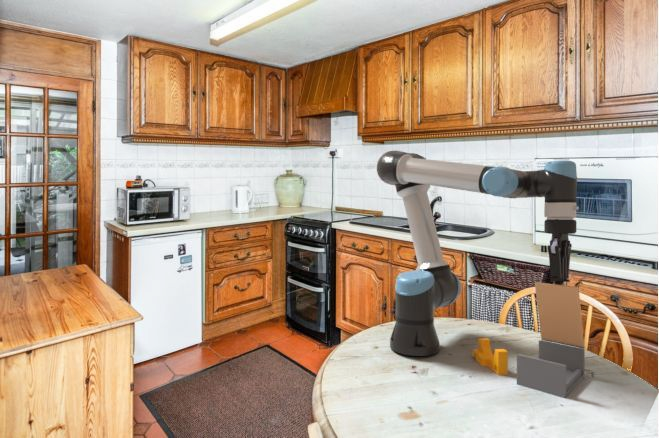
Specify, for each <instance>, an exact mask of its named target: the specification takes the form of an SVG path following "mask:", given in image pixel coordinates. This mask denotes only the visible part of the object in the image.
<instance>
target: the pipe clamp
mask: <svg viewBox="0 0 659 438" xmlns="http://www.w3.org/2000/svg"><path fill="white" fill-rule="evenodd" d="M477 339H478V344H477V345H478V346H477V347H478V348H473V349H472V357H473V358H475V360H476V362H478V363H479V364H480V365H481V367H489V369H490V370H492V371H493V372H494V373H495V374H496V375H498V376H503V375H505V376H508V372H509V371H508V369H509V368H508V367H509V366H508V365H509V364H508V363H509V362H508V357H509V356H508V352H509V351H508V350H506V349H504V348H495V349H494V353H493V350H492V347H491V340H490V338H488V337H478V338H477Z"/></svg>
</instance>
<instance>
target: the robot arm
mask: <svg viewBox="0 0 659 438" xmlns="http://www.w3.org/2000/svg"><path fill="white" fill-rule="evenodd" d="M376 174H377V176H378V178H379V179H380V180H381V181H382V182H384V183H385V184H387V185H390V186H394V187H395V190H396V193H397V195H398V196H399V197H401V198H402V202H403V205H404V210H405V214H406V218H407V223H408V227H409V231H410V235H411V239H412V240H411V241H412V243H413V249H414V252H415V256H416V260H417V261H416V262H417V267H416V268H415V270H410V271H404V272H400V273H399V274H398V275H397V276H396V279H395V287H394V289H395V291H394V292H395V323H394V326H393V329H392V332H391V335H390V339H389V347H390V349H391V350H392V351H393V352H395V353H397V354H398V353H399V354H402V355H406V356H413V357H414V356H417V357H424V356H433V355H436V354H437V353H439V352H440V349H441V348H440V345H441V343H440V340H439V336H438V334H437V331H436V328H435V323H434V322H435V320H434V319H435V311H434V310H437V309H440V308H445V307H448V306H450V305H452V304H453V303H455V302H456V301H457V300H458V298H459V297H460V295H461V291H462V290H461V289H462V285H461V281H460V278H459V277H458V276H457V274H455V273H454V272H453V271H452V268H451V265H450V263H449V262H447V261H446V260H445V259H444V256H443V252H442V248H441V245H440V240H439V235H438V231H437V227H436V224H435V219H434V215H433V212H432V208H431V202H430V198H429V195H428V191H429V189H431V186H433V187H441V188H446V189H453V190H459V191H460V190H461V191H466V192H472V193H479V194H485V195H491V196H494V197H498V198H499V197H500V198H504V199H521V198H522V199H523V198H525V199H527V198H544V211H543V212H544V213H543V214H544V218H546V219H545V220H544V233H545V234H551V239H550V240H549V245H547V252H548V260H549V263H548V264H549V272H550V278H549V282H553V283H552V284H557V285H566V286H567V283H570V281H571V279H569V277H570V263H571V261H570V260H571V251H572V247H573V245H572V243H571V241H570V239H569V235H571V234H572V235H574V234H576V233H577V220H576V219H575V218H576V217H577V211H579V209H580V207H579V206H578V205H577V194H578V193H577V192H578V191H577V189H578V188H577V187H578V185H577V184H578V174H577V164H576V162H574V161H572V160H553V161H548V162H545V164H544V168H543V169H540V170H526V171H525V170H519V169H513V168H509V167H506V166H489V165H482V164H472V163H463V162H456V161H455V162H453V161H445V160H444V161H443V160H435V159H427V157H424V156H422V155H420V154H418V153H414V152H411V153H410V152H405V151H400V150H389V151H386V152H384V153H383V154H382V155H381V156H380V157H379V158H378V160H377V163H376Z"/></svg>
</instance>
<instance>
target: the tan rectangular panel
mask: <svg viewBox="0 0 659 438" xmlns="http://www.w3.org/2000/svg"><path fill="white" fill-rule="evenodd" d="M534 288H535V289H534V290H535V297H536V304H537V305H536V306H537V312H538V313H537V314H538V321H539V329H540V337H541V339H540V340H542V341H547V342H552V343H557V344H562V345H567V346H572V347H576V348H581V349H585V341H584V329H583V320H582V319H583V318H582V309H581V297H580V288H579V286H576V285H575V286H574V285H567V284H566V285H557V284H553V283H546V282H538V281H537V282H536V281H535V282H534Z"/></svg>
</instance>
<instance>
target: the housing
mask: <svg viewBox="0 0 659 438" xmlns="http://www.w3.org/2000/svg"><path fill="white" fill-rule="evenodd" d="M585 355H586V351H585V348H579V347H574V346H569V345H564V344H559V343H554V342H549V341H544V340H541V339H539V340H538V358H537V357H533V356H530V355H525V354H521V353H518V354H516V385H519V386H521V387H525V388H529V389H533V390H535V391H539V392H544V393H547V394H551V395H554V396H557V397H561V398H567V397H568V395H569V394H570V393H572V391H573V390H574V389H575V388H576V387H577V386H578V385H579V384H580V383H581V382H582V381H583V380H584V379H585V373H586V372H585V371H586V367H585V361H586V360H585V359H586V357H585Z"/></svg>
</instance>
